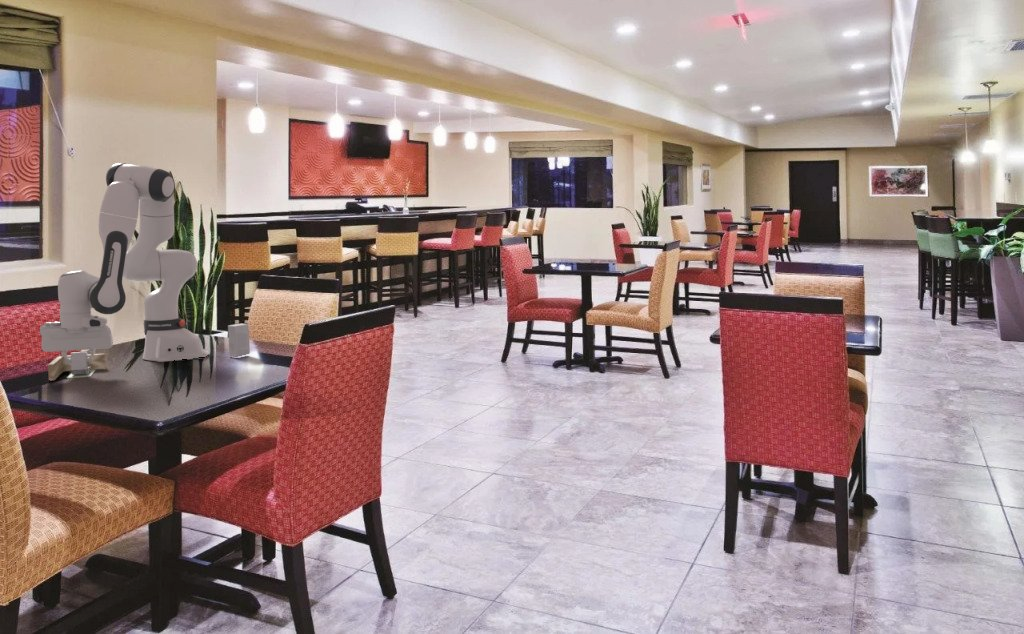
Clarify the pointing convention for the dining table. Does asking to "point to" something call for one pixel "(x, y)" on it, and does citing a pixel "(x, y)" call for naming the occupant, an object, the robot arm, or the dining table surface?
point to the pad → (81, 375)
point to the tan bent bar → (60, 365)
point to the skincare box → (238, 340)
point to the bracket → (79, 363)
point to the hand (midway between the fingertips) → (79, 363)
